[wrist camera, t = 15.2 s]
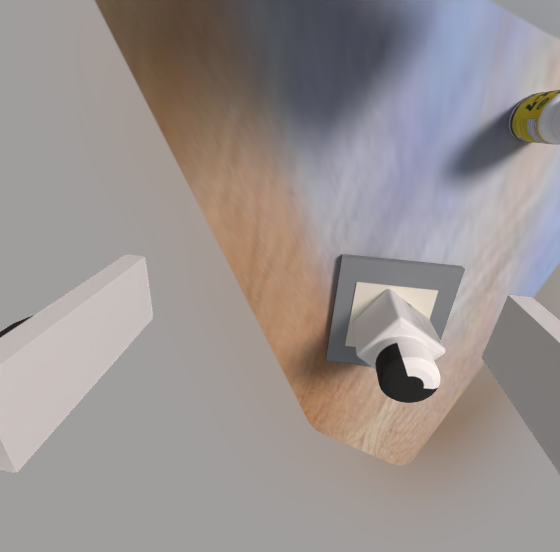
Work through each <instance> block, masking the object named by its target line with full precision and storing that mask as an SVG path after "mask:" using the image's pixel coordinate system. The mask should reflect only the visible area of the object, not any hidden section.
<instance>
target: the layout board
mask: <svg viewBox="0 0 560 552" xmlns="http://www.w3.org/2000/svg"><path fill="white" fill-rule="evenodd" d="M464 270H465V269H464V268H463V267H462V266H455V265H445V264H435V263H425V262H415V261H405V260H395V259H385V258H375V257H365V256H355V255H345V254H342V257H341V264H340V270H339V277H338V283H337V290H336V296H335V303H334V309H333V316H332V322H331V329H330V335H329V342H328V348H327V355H326V361H334V362H341V363H349V364H357V365H365V366H370V365H369V364H368V363H366V362H365V361H363V360H362V359H360V358H359V357H358V356H357V354H356V346H355V339H354V332H353V325H352V323H353V321H354V320H355V319H356V318H358V317H359V316H360V315H361V314H362V313H363V312H364V311H365V310H366V309H367V308H368V307H369V306H370V305H371V304H372V303H373V302H374V301H376V300H377V299H378V298H379V297H380V296H381V295H382V294H383V293H384V292H385V291H386V290H387V289H391V290H392V291H394V292H395V293H396V294H398V295H399V296H400V297H402V298H403V299H404V300H406V301H407V302H408V303H409V304H411V305H412V306H413V307H415V308H416V309H417V310H419V311H420V312H421V313H423V314H424V315H425V316H427V317H428V318H429V320H430V322H431V324H432V326H433V327H434V329H435V331H436V333H437V335H438V337H439V339H440V340H441V337H442V335H443V332H444V329H445V326H446V323H447V320H448V317H449V314H450V311H451V308H452V305H453V302H454V299H455V297H456V294H457V291H458V288H459V285H460V282H461V279H462V276H463V273H464Z"/></svg>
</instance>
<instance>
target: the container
mask: <svg viewBox="0 0 560 552" xmlns="http://www.w3.org/2000/svg"><path fill="white" fill-rule="evenodd" d="M352 325H353V332H354V339H355V346H356V354H357V356H358V357H359V358H360V359H362V360H363V361H365V362H366V363H368V364H369V365H370V366H372V367H373V368H375V369H376V371H377V376H378V381H379V385H380V388H381V390H382V391H383V392H384V393H385V394H386V395H387V396H388V397H390V398H392V399H394V400H396V401H400V402H406V403H412V402H418V401H422V400H424V399H426V398H428V397H430V396H431V395H432V394H433V393H434V392H435V391H436V390H437V388H438V386H439V384H440V373H439V370H438V368H437V366H436V364H435V362H434V361H435V360H436V359H437V358H439V357H440V356H441V355H443V354H444V353H445V348H444V346H443V344H442V342H441V341H440V339H439V337H438V335H437V333H436V331H435V329H434V327H433V326H432V324H431V322H430V320H429V318H428V317H427V316H425V315H424V314H423V313H421V312H420V311H419V310H417V309H416V308H415V307H413V306H412V305H411V304H409V303H408V302H407V301H406V300H404V299H403V298H402V297H400V296H399V295H398V294H396V293H395V292H394V291H392V290H391V289H387V290H386V291H385V292H384V293H383V294H382V295H381V296H380V297H379V298H378V299H377V300H376V301H374V302H373V303H372V304H371V305H370V306H369V307H368V308H367V309H366V310H365V311H364V312H363V313H362V314H361V315H360V316H359V317H358V318H356V319H355V320H354V321H353V323H352Z"/></svg>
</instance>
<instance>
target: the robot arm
mask: <svg viewBox="0 0 560 552" xmlns="http://www.w3.org/2000/svg"><path fill="white" fill-rule="evenodd" d="M152 319H153V312H152V305H151V297H150V289H149V282H148V275H147V267H146V260H145V257H144V256H135V255H125V256H123V257H122V258H120V259H118V260H117V261H115V262H114V263H112V264H111V265H109V266H108V267H106V268H105V269H104V270H102V271H100V272H99V273H97V274H96V275H94V276H93V277H91V278H90V279H88V280H87V281H85V282H84V283H82V284H81V285H79V286H78V287H76V288H75V289H73V290H72V291H70V292H69V293H67V294H66V295H64V296H63V297H61V298H60V299H58V300H57V301H55V302H54V303H52V304H51V305H49V306H48V307H46V308H44V309H43V310H42V311H40V312H39V313H37V314H35V315H33V316H31V317H28V318H26V319H23V320H21V321H19V322H16V323H14V324H12V325H10V326H9V327H7V328H6V329H4V330H3V331H1V332H0V470H2V471H8V472H14V473H17V472H18V471H19V470H20V469H21V468H22V466H23V465H24V464H25V463H26V462H27V461H28V460H29V458H30V457H31V456H32V455H33V454H34V453H35V452H36V450H37V449H38V448H39V447H40V446H41V445H42V444H43V443H44V441H45V440H46V439H47V438H48V437H49V436H50V434H51V433H52V432H53V431H54V430H55V429H56V428H57V427H58V425H59V424H60V423H61V422H62V421H63V420H64V419H65V417H66V416H67V415H68V414H69V413H70V412H71V411H72V410H73V408H74V407H75V406H76V405H77V404H78V403H79V402H80V400H81V399H82V398H83V397H84V396H85V395H86V394H87V392H88V391H89V390H90V389H91V388H92V387H93V386H94V384H95V383H96V382H97V381H98V380H99V378H101V377H102V375H103V374H104V373H105V372H106V371H107V370H108V369H109V367H110V366H111V365H112V364H113V363H114V362H115V361H116V359H117V358H118V357H119V356H120V355H121V354H122V352H124V350H125V349H126V348H127V347H128V346H129V345H130V344H131V342H132V341H133V340H134V339H135V338H136V337H137V336H138V334H139V333H140V332H141V331H142V330H143V329H144V328H145V327H146V325H147V324H148V323H149V322H150V321H151V320H152ZM482 359H483V360H484V362H485V363H486V365H487V366H488V368H489V369H490V371H491V372H492V374H493V375H494V377H495V378H496V380H497V381H498V383H499V384H500V386H501V387H502V389H503V390H504V392H505V393H506V395H507V396H508V398H509V399H510V401H511V402H512V404H513V405H514V407H515V408H516V410H517V411H518V413H519V414H520V416H521V417H522V419H523V420H524V422H525V423H526V425H527V426H528V428H529V429H530V430H531V432H532V434H533V435H534V436H535V438H536V440H537V441H538V443H539V444H540V445H541V447H542V448H543V450H544V451H545V453H546V454H547V456H548V457H549V459H550V460H551V462H552V463H553V465H554V466H555V468H556V469H557V471H558V472H559V474H560V321H559V320H558V319H557V318H556V317H555V316H553V315H552V314H551V313H550V312H549V311H547V310H546V309H545V308H544V307H543V306H541V305H540V304H539V303H538V302H537V301H535V300H534V299H533V298H532V297H523V296H514V295H508V297H507V300H506V302H505V304H504V307H503V309H502V311H501V314H500V316H499V318H498V321H497V323H496V325H495V328H494V330H493V333H492V335H491V337H490V340H489V342H488V344H487V347H486V349H485V351H484V354H483V356H482Z"/></svg>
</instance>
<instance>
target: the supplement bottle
mask: <svg viewBox="0 0 560 552" xmlns="http://www.w3.org/2000/svg"><path fill="white" fill-rule="evenodd" d="M509 130H510V132H511V134H512V135H513V136H514V137H515V138H516V139H518V140H520V141H525V142H535V143H546V144H560V90H556V91H550V92H542V93H536V94H533V95H530V96H528V97H526V98H525V99H523V100H522V101H521V102H520V103H519V104H518V105H517V106H516V107H515V108H514V110H513V111H512V113H511V116H510V119H509Z"/></svg>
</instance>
